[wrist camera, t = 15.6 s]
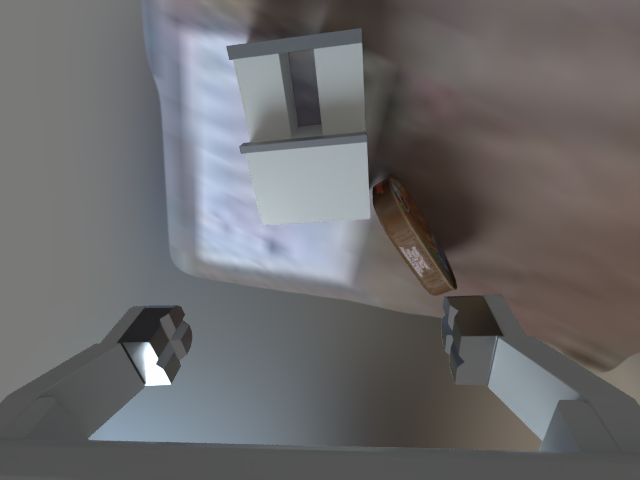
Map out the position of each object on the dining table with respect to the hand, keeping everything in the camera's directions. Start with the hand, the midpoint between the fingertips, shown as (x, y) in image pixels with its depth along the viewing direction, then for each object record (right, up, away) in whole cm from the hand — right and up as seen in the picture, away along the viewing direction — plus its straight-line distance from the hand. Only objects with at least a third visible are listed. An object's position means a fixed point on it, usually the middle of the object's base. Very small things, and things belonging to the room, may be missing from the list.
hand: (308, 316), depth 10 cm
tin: (+11, +5, +30) cm, 33 cm away
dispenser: (0, +15, +25) cm, 29 cm away
